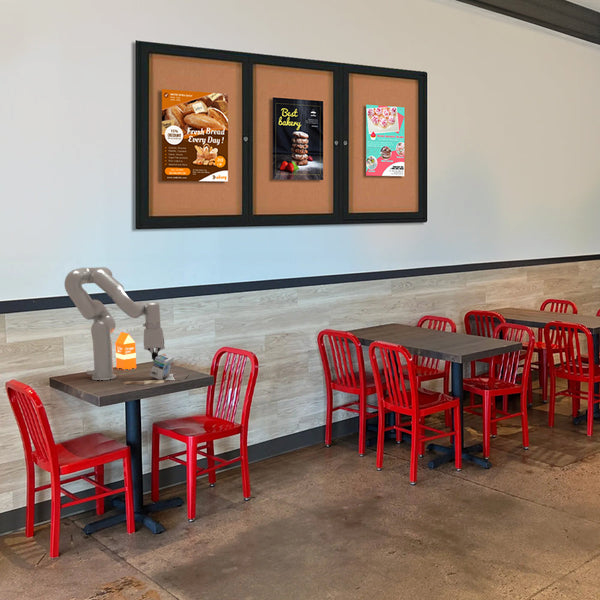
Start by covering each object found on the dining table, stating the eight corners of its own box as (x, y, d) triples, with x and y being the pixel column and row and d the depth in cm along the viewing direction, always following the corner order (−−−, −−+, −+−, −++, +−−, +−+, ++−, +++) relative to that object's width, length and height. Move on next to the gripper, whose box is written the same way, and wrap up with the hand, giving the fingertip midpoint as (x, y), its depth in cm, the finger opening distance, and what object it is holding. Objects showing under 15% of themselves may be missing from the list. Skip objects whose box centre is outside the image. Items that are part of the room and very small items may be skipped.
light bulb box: (160, 380, 391) (166, 361, 389) (149, 375, 392) (155, 356, 390) (168, 376, 402) (174, 357, 400) (157, 371, 403) (163, 352, 401)
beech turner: (123, 385, 381) (123, 383, 381) (123, 382, 387) (123, 381, 387) (163, 383, 386) (163, 381, 385) (163, 380, 391) (163, 379, 391)
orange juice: (124, 370, 417) (122, 334, 415) (116, 367, 424) (114, 332, 421) (136, 368, 423) (135, 332, 420) (128, 365, 429) (127, 330, 427)
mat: (164, 380, 391) (164, 379, 391) (170, 374, 405) (170, 373, 405) (184, 380, 391) (184, 379, 391) (189, 374, 405) (189, 373, 404)
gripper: (137, 327, 390) (139, 362, 393) (165, 326, 390) (167, 361, 392) (140, 325, 398) (142, 359, 400) (168, 324, 397) (170, 358, 400)
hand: (155, 360), depth 396 cm, fingers closed
